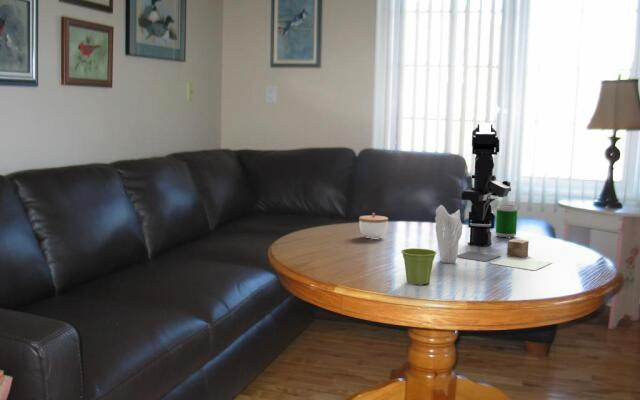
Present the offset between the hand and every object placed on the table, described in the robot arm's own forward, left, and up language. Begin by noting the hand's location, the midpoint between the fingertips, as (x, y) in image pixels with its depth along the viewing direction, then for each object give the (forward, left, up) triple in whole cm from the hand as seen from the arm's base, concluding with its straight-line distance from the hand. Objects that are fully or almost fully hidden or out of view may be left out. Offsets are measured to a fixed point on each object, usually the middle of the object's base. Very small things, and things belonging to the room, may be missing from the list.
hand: (481, 220), depth 213 cm
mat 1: (-1, 0, -12) cm, 12 cm away
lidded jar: (-45, +4, -12) cm, 47 cm away
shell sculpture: (-4, -14, -12) cm, 19 cm away
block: (+8, +11, -12) cm, 18 cm away
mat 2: (+14, 0, -12) cm, 18 cm away
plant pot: (+3, -43, -12) cm, 45 cm away
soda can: (-10, +42, -12) cm, 45 cm away
